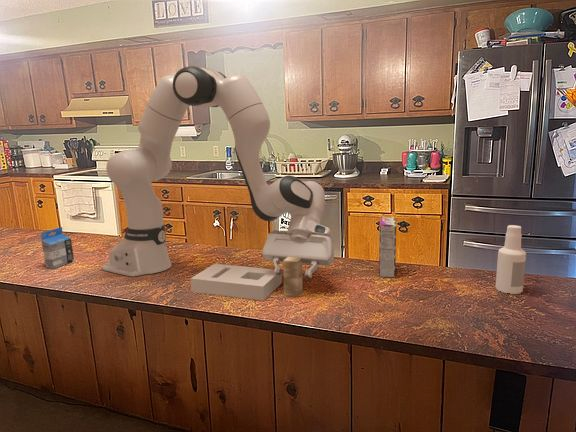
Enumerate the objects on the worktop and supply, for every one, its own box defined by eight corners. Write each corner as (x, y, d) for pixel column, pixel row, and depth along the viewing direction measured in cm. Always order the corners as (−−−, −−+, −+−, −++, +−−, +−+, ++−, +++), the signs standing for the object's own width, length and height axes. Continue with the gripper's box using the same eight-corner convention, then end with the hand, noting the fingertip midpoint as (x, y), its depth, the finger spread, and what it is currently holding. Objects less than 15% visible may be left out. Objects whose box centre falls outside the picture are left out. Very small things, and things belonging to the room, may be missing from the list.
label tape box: (53, 269, 149) (49, 233, 147) (44, 268, 151) (39, 232, 148) (74, 261, 157) (70, 227, 155) (65, 260, 159) (61, 226, 156)
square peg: (284, 295, 123) (283, 260, 121) (288, 290, 127) (288, 256, 125) (297, 297, 122) (297, 261, 120) (302, 292, 125) (302, 257, 123)
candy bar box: (378, 266, 147) (379, 216, 144) (394, 266, 146) (395, 217, 143) (378, 277, 136) (379, 224, 133) (395, 278, 135) (397, 224, 132)
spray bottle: (524, 295, 120) (530, 230, 116) (496, 293, 122) (501, 228, 119) (521, 287, 126) (526, 224, 123) (494, 284, 129) (499, 223, 125)
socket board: (191, 291, 127) (190, 278, 126) (215, 275, 140) (214, 263, 139) (263, 300, 120) (263, 286, 119) (281, 283, 133) (281, 270, 132)
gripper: (266, 224, 131) (253, 266, 124) (335, 228, 124) (326, 273, 117) (272, 235, 136) (260, 277, 129) (338, 240, 129) (330, 284, 122)
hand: (292, 275), depth 123 cm, fingers open, 7 cm apart
